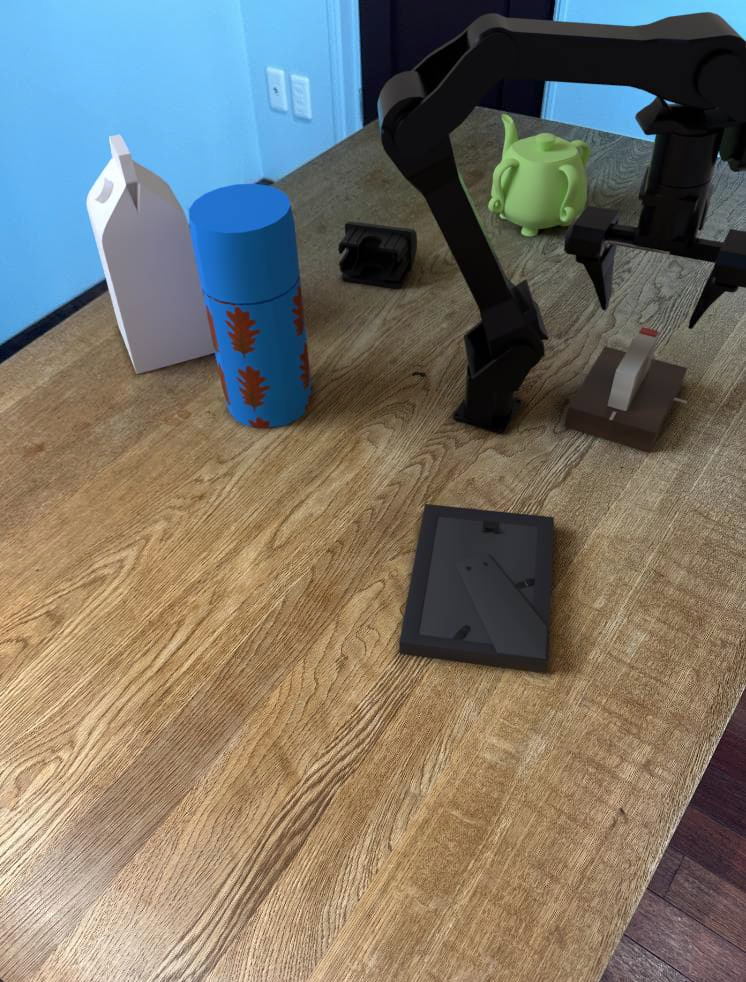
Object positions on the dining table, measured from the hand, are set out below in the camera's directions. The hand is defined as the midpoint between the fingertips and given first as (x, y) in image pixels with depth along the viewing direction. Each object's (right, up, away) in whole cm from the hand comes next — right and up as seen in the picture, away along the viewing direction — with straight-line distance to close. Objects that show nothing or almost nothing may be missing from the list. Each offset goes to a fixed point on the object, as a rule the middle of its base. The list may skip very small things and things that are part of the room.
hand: (647, 317), depth 88 cm
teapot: (-3, +27, +40) cm, 49 cm away
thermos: (-42, -7, +14) cm, 45 cm away
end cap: (-28, +15, +32) cm, 45 cm away
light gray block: (0, -6, +7) cm, 9 cm away
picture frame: (-19, -29, -8) cm, 36 cm away
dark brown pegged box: (+1, -8, +9) cm, 12 cm away
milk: (-57, +3, +24) cm, 62 cm away
